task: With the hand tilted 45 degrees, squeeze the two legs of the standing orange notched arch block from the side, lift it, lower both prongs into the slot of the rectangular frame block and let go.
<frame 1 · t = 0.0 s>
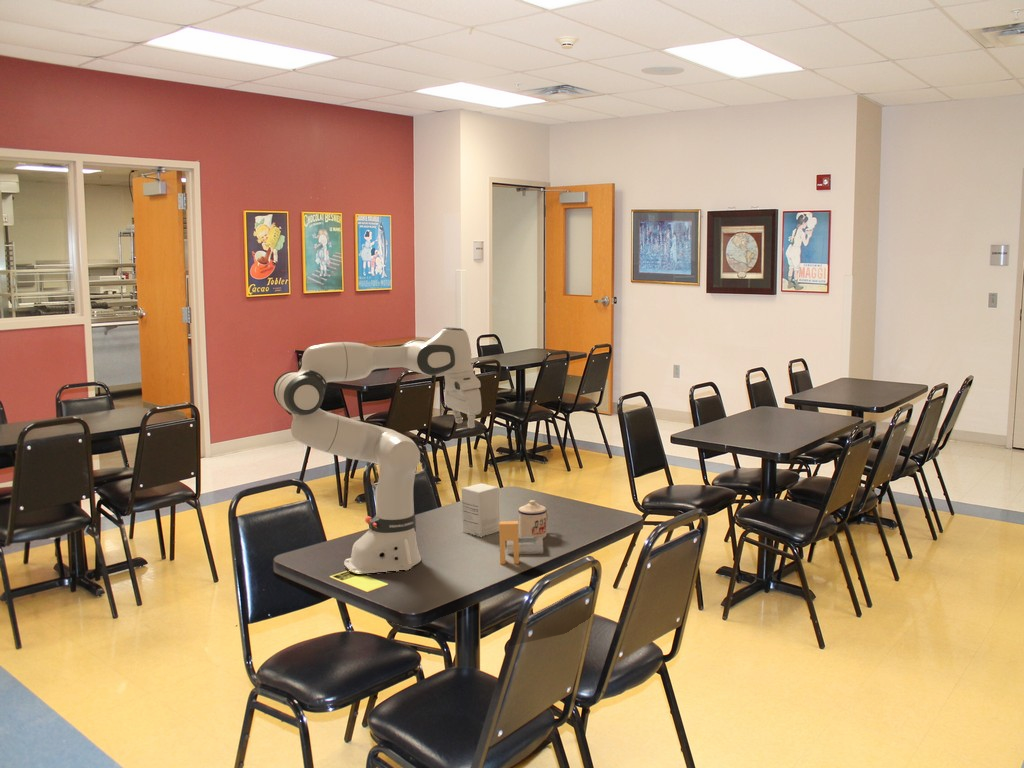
hand: (465, 425, 267), 39 cm above the table, tool pointing down, fingers open, 8 cm apart
supplement box: (481, 532, 290), on the table
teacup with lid: (535, 535, 285), on the table
rectangular frame block: (524, 549, 270), on the table
orange notched arch block: (509, 562, 259), on the table
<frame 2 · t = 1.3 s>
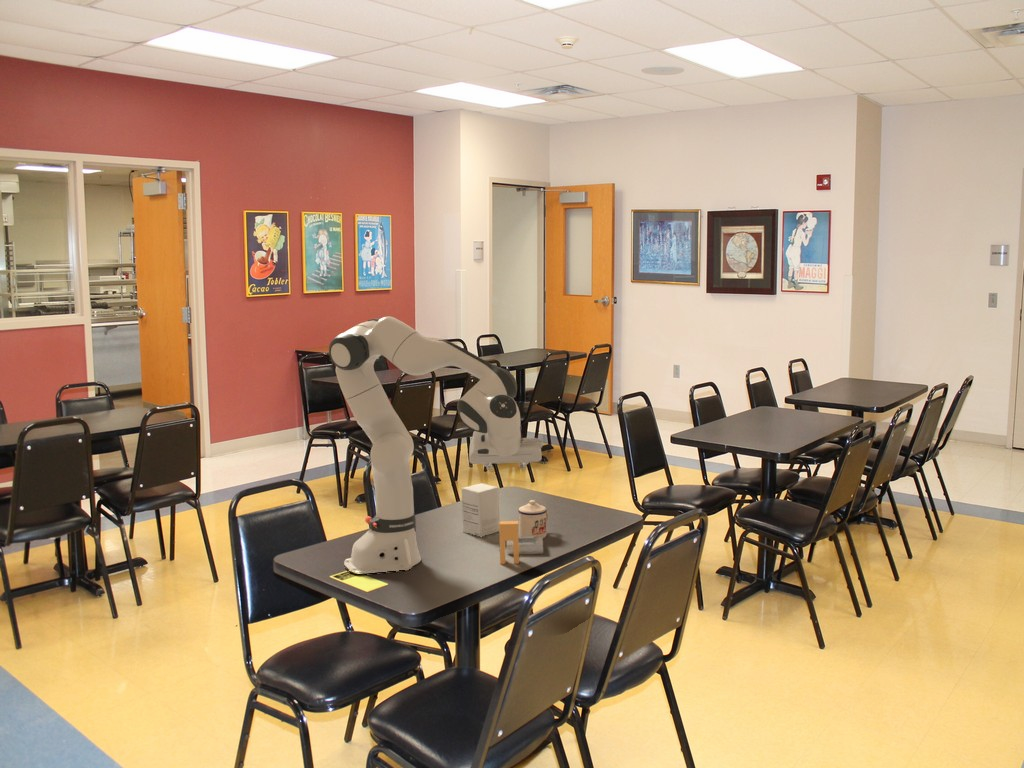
hand: (505, 467, 250), 30 cm above the table, tool tilted 45°, fingers open, 8 cm apart
nothing on the table moved.
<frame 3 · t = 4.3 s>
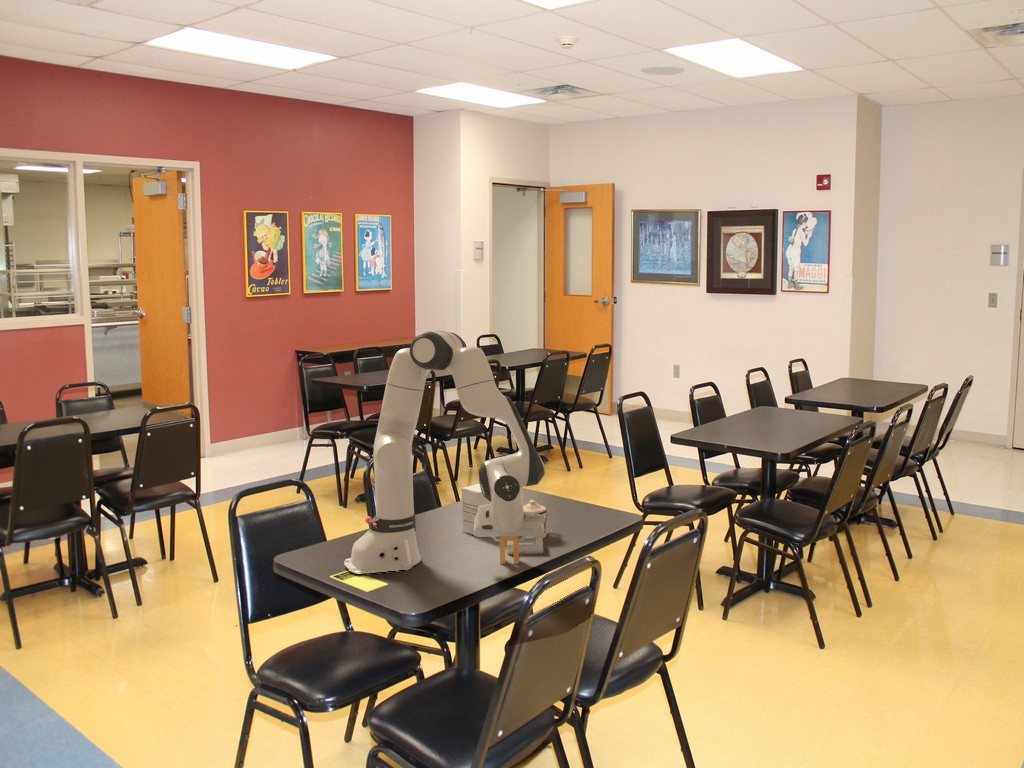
hand: (509, 538, 259), 7 cm above the table, tool tilted 45°, fingers closed on orange notched arch block, 5 cm apart
orange notched arch block: (509, 562, 259), on the table, touching gripper
everything else where it was.
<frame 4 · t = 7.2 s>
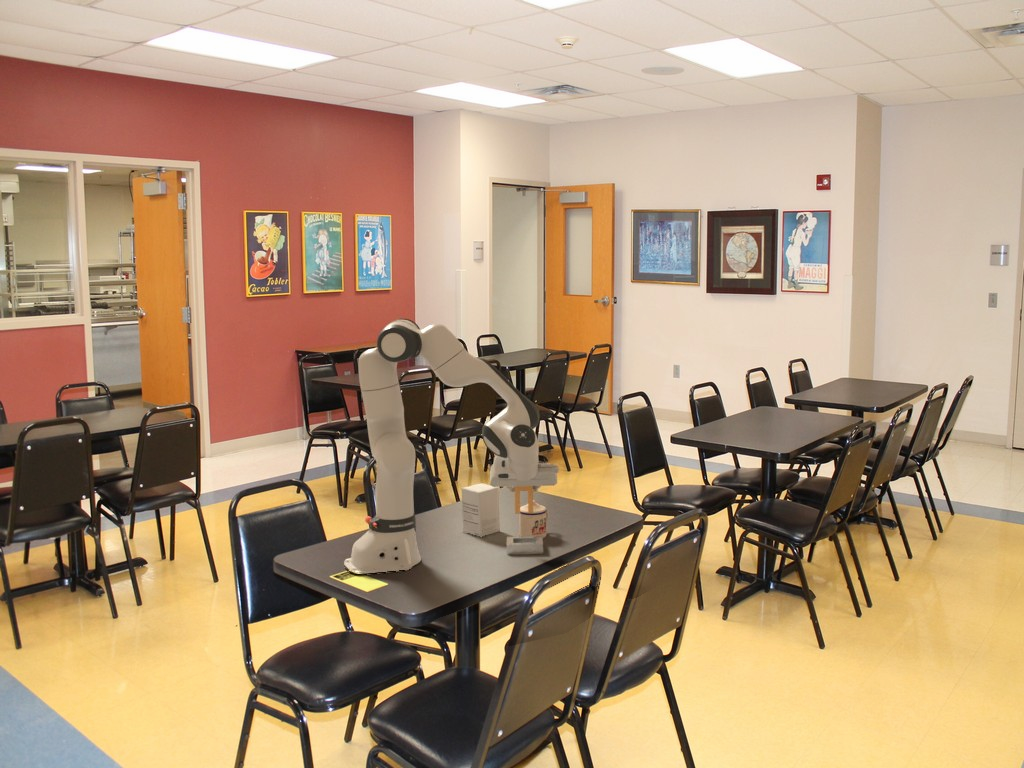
hand: (523, 489, 268), 19 cm above the table, tool tilted 45°, fingers closed on orange notched arch block, 5 cm apart
orange notched arch block: (524, 512, 269), point 12 cm above the table, touching gripper
everything else where it was.
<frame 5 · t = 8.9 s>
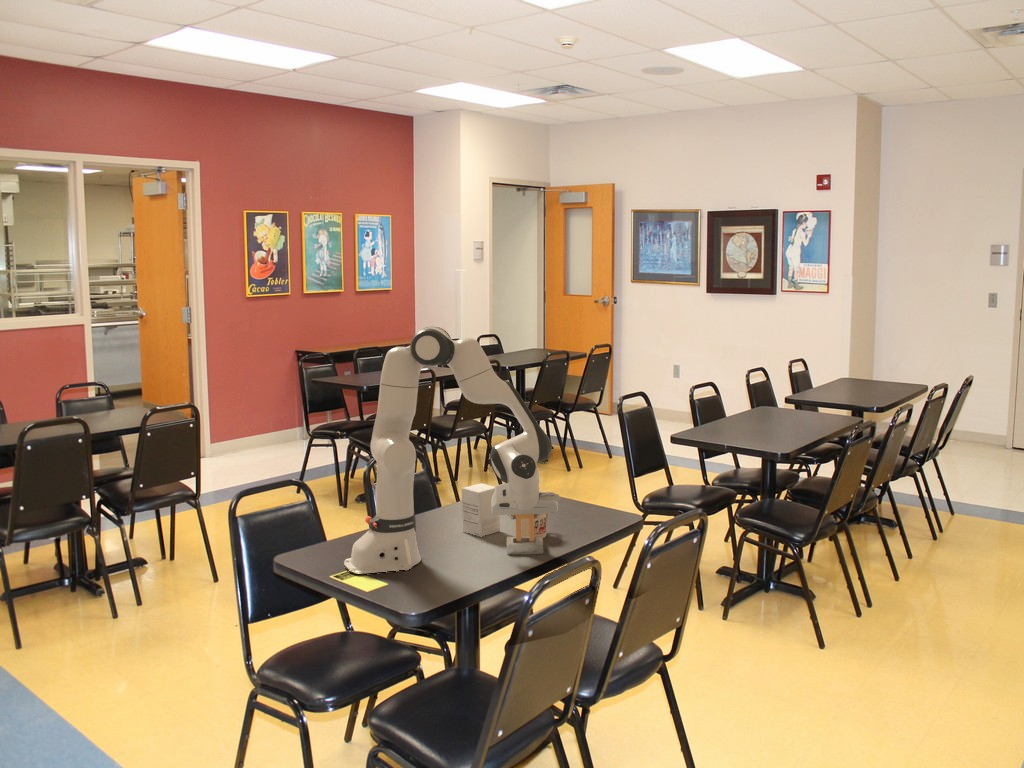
hand: (524, 517, 269), 10 cm above the table, tool tilted 45°, fingers closed on orange notched arch block, 5 cm apart
orange notched arch block: (525, 539, 270), point 3 cm above the table, touching gripper
everything else where it was.
when the fingers open (8 cm above the table, at t = 10.0 s): orange notched arch block stays where it is, resting in rectangular frame block.
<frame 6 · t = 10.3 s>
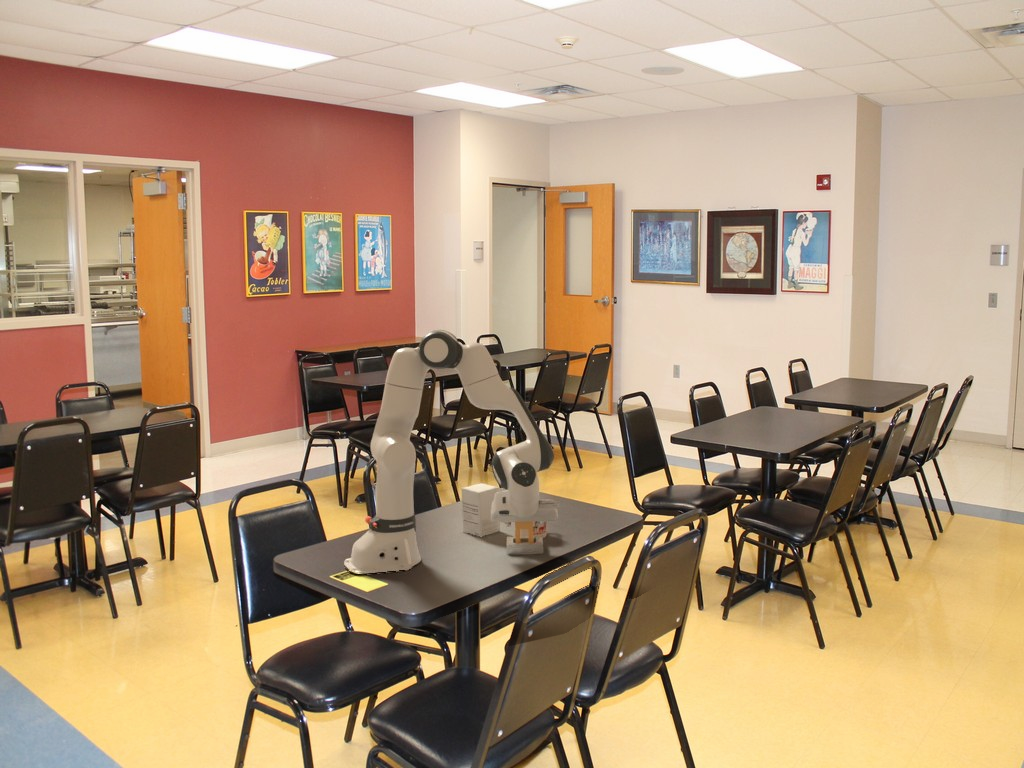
hand: (524, 524, 270), 8 cm above the table, tool tilted 45°, fingers open, 8 cm apart
orange notched arch block: (524, 549, 270), resting in rectangular frame block
everything else where it was.
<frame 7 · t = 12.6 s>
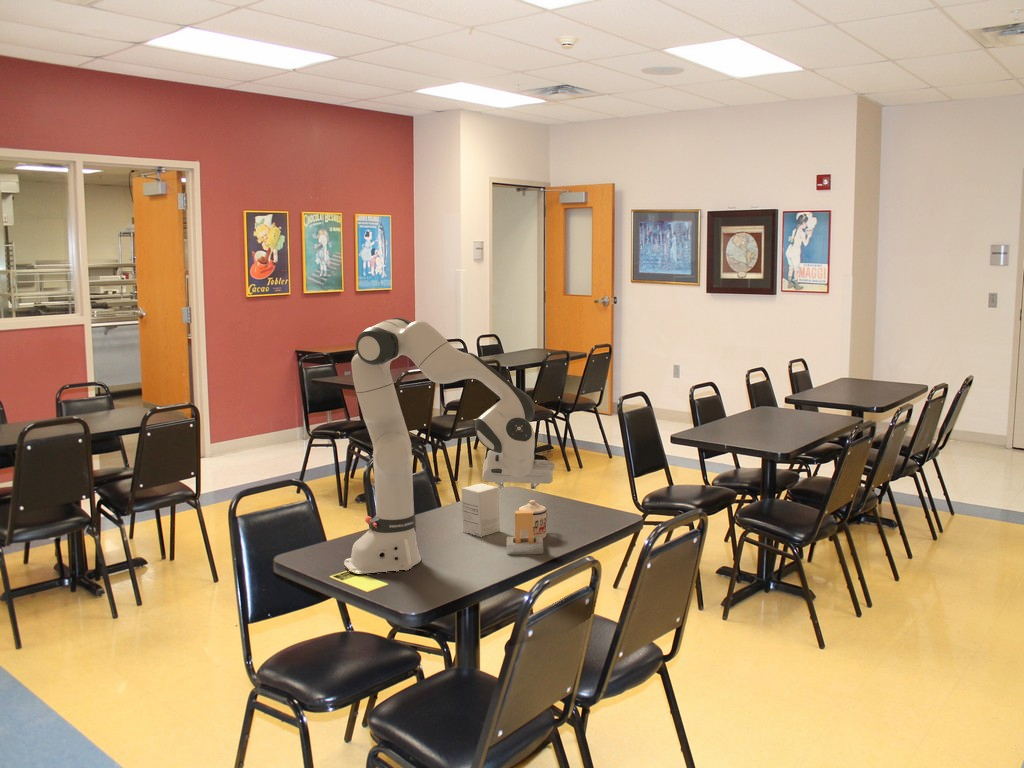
hand: (517, 486, 257), 23 cm above the table, tool tilted 45°, fingers open, 8 cm apart
nothing on the table moved.
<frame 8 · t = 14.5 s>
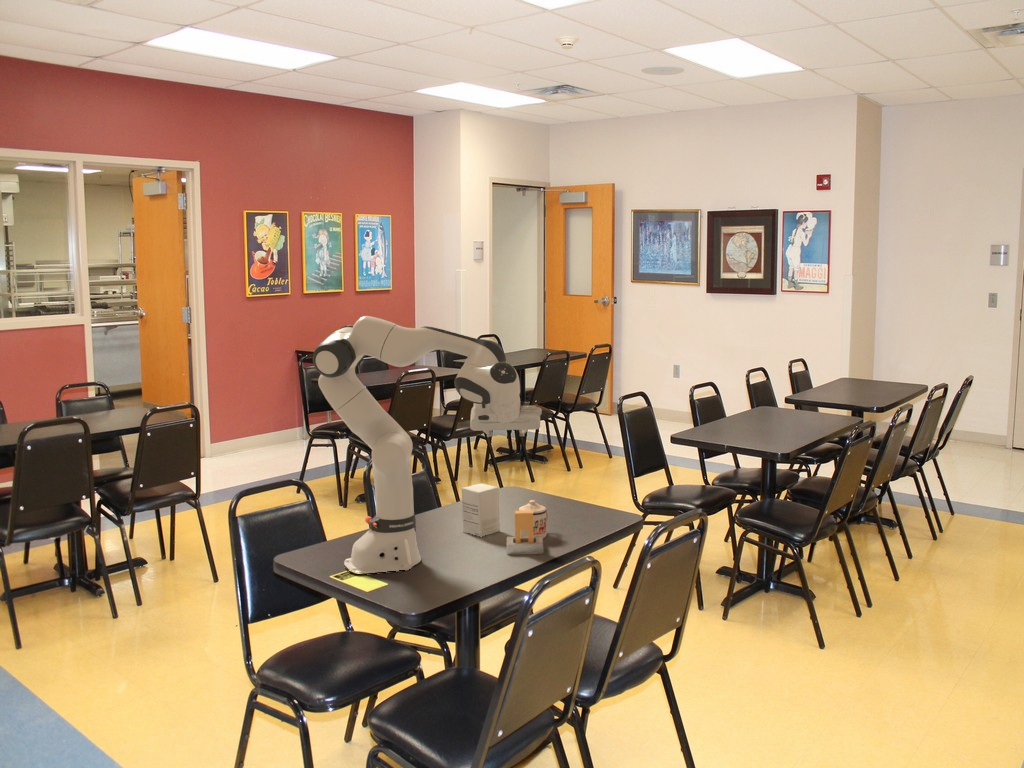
hand: (505, 434, 258), 37 cm above the table, tool tilted 45°, fingers open, 8 cm apart
nothing on the table moved.
at the end: orange notched arch block 0.1 cm from the rectangular frame block (horizontally); orange notched arch block resting in rectangular frame block; orange notched arch block tilted 0° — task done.
